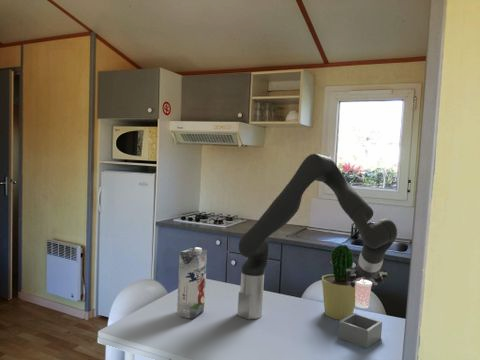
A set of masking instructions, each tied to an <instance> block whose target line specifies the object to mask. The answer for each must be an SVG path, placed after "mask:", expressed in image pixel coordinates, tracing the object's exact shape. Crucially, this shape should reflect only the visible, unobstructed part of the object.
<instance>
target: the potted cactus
mask: <svg viewBox="0 0 480 360" xmlns="http://www.w3.org/2000/svg"><path fill="white" fill-rule="evenodd" d="M337 245H338V244H337ZM337 245H336V246H335V247H334V248H333V250H332V251H330V252H331V255H330V260H329V261H330V262H329V263H330V265H331V268H333V269H332V270H330V271H331V272H332V273H333V274H326V275H325V274H324V275H322V276H321V285H322V294H323V307H324V314H325V316H327V317H328V316H329V318H330V317H331V318H330V319H333V318H334V320H338V319H339V321H340V320H342V319H344V318H346V317H348V316H349V315H351V314H353V313H355V312H354V310H355V286H354V287H352V286H351V285H350V281H349V282H348V281H347V270H346V268H347V267H350V269H352V268H353V266H354V257H353V256H354V255H353V251H351V249H350V247H349V245H345V244H343V245H342V244H339V245H338V246H337ZM351 252H352V253H351Z"/></svg>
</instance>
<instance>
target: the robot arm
mask: <svg viewBox="0 0 480 360" xmlns="http://www.w3.org/2000/svg"><path fill="white" fill-rule="evenodd" d="M315 181H317V182H322V183H324V184H325V185H326V186H328V188H330V190H332V192H333V193H334V195H335V197H336V199H337V201H338V204H339V205H340V207H341V209H342V210H343V212H344V213H345V214H346V215H347V216H348V217H349V218H350V220H352V222H353V223H354V225H355V227H356V229H357V231H358V233H359V235H360V238H361V240H362V241H363V244H362V249H361V251H360V254H359V257H358V261H357V263H356V267H355V268H351V269H350V267H347V268H346V270H347V281H348V282H349V281H350V285H351V286H352V287H354V286H355V282H356V281H360V280H361V279H364V280H369V281H371V282H372V286H371V290H375V289H376V287H377V286H378V284H379V285H384V284H385V282H386V281H387V279H388V271H387V270H386V269H385V270H383V271H381V269H382V266H383V262H384V258H385V255H386V252H387V251H388V250H389V249H390V247H392V245H393V244H394V242H395V241H396V239H397V236H398V229H397V226H396V224H395V222H394V221H393V220H391V219H388V218H382V219H379V220H377V221H375V222H373V223H371V224H370V223H369V221H370V220H371V219H372V218H373V216H374V210H373V208H372V207H371V206H370V205H369V204H368V203H367V201H366V200H364V198H363V197H361V196H360V194H359V193H358V192H357V191H356V189H354V188H353V187H352V185H351V184H350V182H348V180H347V179H346V177H345V176H344V175H343V173H342V172H341V170H340V168H339V167H338V165H337V163H336V162H335V161H334V160H333V159H332V158H331V157H329V156H326V155H324V154H323V155H322V154H318V153H311V154H309V155H308V156H306V157H305V158H304V160H303V161H302V162H301V163H300V166H299V167H298V168H297V171H295V173H294V175H293V176H292V178H291V179H290V180H289V182H288V183H287V184H286V186H285V187H283V189H282V190H281V192H280V193H279V194H278V195H277V196H276V197H275V199H274V200H273V201H272V203H271V204H270V205H269V206H268V207H267V208H266V210H265V211H264V213H263V214H262V215H261V216H260V217H259V219H258V220H257V222H255V224H253V226H252V227H250V229H249V230H248V231H247V232H245V233H244V235H243V236H241V238H240V240H239V242H238V251H239V253H240V255H242V257H245V258H247V259H246V261H245V262H244V263H243V264H242V265H241V271H240V272H241V273H240V274H241V275H240V291H239V292H238V298H237V299H238V303H237V316H239V317H240V318H244V319H246V320H256V319H260V318H261V317H262V316H263V301H264V283H265V272H266V271H265V270H266V268H267V265H268V255H269V241H268V238H269V237H270V236H271V235H272V234H274V233H276V232H277V231H278V230H280V229H281V228H283V227H284V226H286V224H287V223H289V221H291V219H292V218H293V217H294V216H295V215H296V214H297V212H298V211H299V209H300V207H301V206H300V205H301V202H302V198H303V195H304V194H305V191H306V190H307V189H308V188H309V187H310V186H311V184H313V183H314V182H315ZM377 277H378V278H377Z"/></svg>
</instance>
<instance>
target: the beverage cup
mask: <svg viewBox="0 0 480 360" xmlns="http://www.w3.org/2000/svg"><path fill="white" fill-rule="evenodd" d="M371 286H372V282H371V280H367V279H361V280H360V281H356V282H355V306H356V307H357V308H359V309H368V308H369V303H370V296H371V290H372V289H371Z"/></svg>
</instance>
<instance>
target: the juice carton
mask: <svg viewBox="0 0 480 360" xmlns="http://www.w3.org/2000/svg"><path fill="white" fill-rule="evenodd" d="M207 258H208V250H207V249H203V248H202V247H201V246H200V247H197V246H196V247H189V248H188V249H186V250H181V251H180V252H179V262H178V263H179V264H178V265H179V266H178V282H177V283H178V284H177V285H178V286H177V303H176V305H177V307H176V308H177V309H176V310H177V311H176V312H177V316H178V317H180V318H186V319H190V320H194V319H195V318H197V317H198V316H199V315H201V314H203V312H204V310H205V302H206V301H205V299H206V286H207V285H206V282H207V281H206V280H207V262H208V261H207Z"/></svg>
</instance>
